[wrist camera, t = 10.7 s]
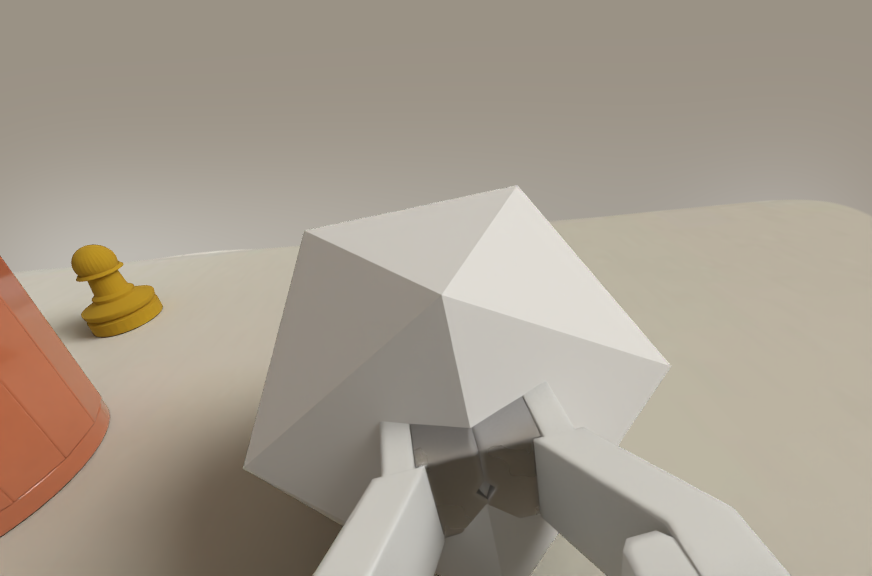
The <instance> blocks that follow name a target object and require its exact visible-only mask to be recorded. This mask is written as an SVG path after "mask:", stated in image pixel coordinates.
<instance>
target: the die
mask: <svg viewBox="0 0 872 576" xmlns="http://www.w3.org/2000/svg"><path fill="white" fill-rule="evenodd" d="M670 368H671V365H670V364H669V363H668V362H667V361H666V359H665V358H664V357H663V356H662V355H661V354H660V352H659V351H658V350H657V349H656V348H655V346H654V345H653V344H652V343H651V342H650V341H649V339H648V338H647V337H646V336H645V335H644V334H643V332H642V331H641V330H640V329H639V328H638V326H637V325H636V324H635V323H634V322H633V321H632V319H631V318H630V317H629V316H628V315H627V314H626V312H625V311H624V310H623V309H622V308H621V307H620V305H619V304H618V303H617V302H616V301H615V299H614V298H613V297H612V296H611V295H610V294H609V292H608V291H607V290H606V289H605V288H604V287H603V285H602V284H601V283H600V282H599V281H598V279H597V278H596V277H595V276H594V275H593V274H592V272H591V271H590V270H589V269H588V268H587V267H586V265H585V264H584V263H583V262H582V261H581V260H580V258H579V257H578V256H577V255H576V254H575V252H574V251H573V250H572V249H571V248H570V247H569V245H568V244H567V243H566V242H565V241H564V240H563V238H562V237H561V236H560V235H559V234H558V232H557V231H556V230H555V229H554V228H553V227H552V225H551V224H550V223H549V222H548V221H547V220H546V218H545V217H544V216H543V215H542V214H541V213H540V211H539V210H538V209H537V208H536V207H535V205H534V204H533V203H532V202H531V201H530V200H529V198H528V197H527V196H526V195H525V194H524V193H523V192H522V190H521V189H520V188H519V187H518V186H517V185H516V186H511V187H507V188H502V189H497V190H493V191H488V192H484V193H479V194H474V195H469V196H464V197H460V198H455V199H450V200H446V201H442V202H436V203H431V204H427V205H422V206H417V207H413V208H408V209H404V210H399V211H394V212H389V213H385V214H380V215H375V216H370V217H366V218H361V219H356V220H352V221H347V222H343V223H337V224H333V225H328V226H323V227H318V228H314V229H309V230H305V231H304V234H303V238H302V242H301V245H300V249H299V253H298V257H297V261H296V265H295V269H294V273H293V276H292V280H291V284H290V288H289V292H288V296H287V300H286V303H285V307H284V311H283V315H282V319H281V323H280V327H279V331H278V334H277V338H276V342H275V346H274V350H273V354H272V358H271V362H270V365H269V369H268V373H267V377H266V381H265V385H264V389H263V392H262V396H261V400H260V404H259V408H258V412H257V416H256V420H255V423H254V427H253V431H252V435H251V439H250V443H249V447H248V451H247V454H246V458H245V462H244V466H243V469H245V470H246V471H248V472H250V473H252V474H253V475H255V476H257V477H259V478H260V479H262V480H264V481H265V482H267V483H269V484H271V485H272V486H274V487H276V488H278V489H279V490H281V491H283V492H285V493H286V494H288V495H290V496H292V497H293V498H295V499H297V500H299V501H300V502H302V503H304V504H305V505H307V506H309V507H311V508H312V509H314V510H316V511H318V512H319V513H321V514H323V515H325V516H326V517H328V518H330V519H332V520H333V521H335V522H337V523H339V524H340V525H342V526H344V524H345V523H346V521H347V519H348V518H349V516H350V515H351V513H352V511H353V510H354V508H355V507H356V505H357V503H358V502H359V500H360V499H361V497H362V495H363V494H364V492H365V490H366V489H367V487H368V486H369V484H370V482H371V481H372V479H374V478H378V477H381V458H380V432H379V423H380V422H395V423H406V424H422V425H437V426H450V427H462V428H471V427H473V426H474V425H476V424H478V423H479V422H481V421H482V420H484V419H485V418H487V417H489V416H490V415H492V414H493V413H495V412H497V411H498V410H500V409H501V408H503V407H505V406H506V405H508V404H510V403H511V402H513V401H515V400H516V399H518V398H520V397H521V396H522V397H523V395H524V394H525V393H527V392H528V391H530V390H532V389H533V388H535V387H536V386H538V385H539V384H541V383H543V382H544V381H546V382H547V383H548V384H549V386H550V388H551V389H552V391H553V393H554V394H555V396H556V398H557V400H558V401H559V403H560V405H561V406H562V408H563V410H564V411H565V413H566V415H567V417H568V418H569V420H570V422H571V423H572V425H573V427H574V428H575V429H577V428H581V427H584V428H586V429H588V430H590V431H592V432H593V433H595V434H597V435H599V436H601V437H603V438H605V439H607V440H608V441H610V442H612V443H614V444H616V445H619V443H620V442H621V440H622V439H623V437H624V436H625V434H626V433H627V431H628V430H629V428H630V427H631V425H632V424H633V422H634V421H635V419H636V418H637V416H638V415H639V413H640V412H641V411H642V409H643V408H644V406H645V405H646V403H647V402H648V400H649V399H650V397H651V396H652V394H653V393H654V391H655V390H656V388H657V387H658V385H659V384H660V382H661V381H662V379H663V378H664V377H665V375H666V374H667V372H668V371H669V369H670ZM410 428H411V426H410ZM489 487H490V484H489V483H487V482H486V481H483V483H482V485H481V486H480V488H479V489H480V491H481V492H482V493H483V494H484V495H485V496H487V494H488V490H489ZM558 533H559V532H558V531H556V530H555V529H554V528H553V527H552V526H551V525H550V524H549V523H548V522H547V521H545V520H544V519H543V518H542V517H541V514H537V515H532V516H528V517H524V518H518V517H516V516H513V515H511V514H509V513H506V512H504V511H502V510H499V509H497V508H495V507H492V506H490V505H487V504H486V505H485V507H484V508H483V509H482V510H481V511H480V512H479V513H478V515H477V516H476V517H475V518H474V519H473V520H472V522H471V523H470V524H469V525H468V526H467V527H466V528H465V530H464V531H463V532H462V533H461V534H457V535H454V536H450V537H447V538H445V544H444V547H443V550H442V553H441V556H440V559H439V562H438V565H437V568H436V571H435V573H436V574H438V575H440V576H530V575H531V573H532V572H533V570H534V569H535V567H536V566H537V564H538V563H539V561H540V560H541V558H542V557H543V555H544V554H545V552H546V551H547V549H548V548H549V546H550V545H551V543H552V542H553V541H554V539H555V538H556V536H557V535H558Z"/></svg>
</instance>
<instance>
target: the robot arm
mask: <svg viewBox="0 0 872 576" xmlns="http://www.w3.org/2000/svg"><path fill="white" fill-rule="evenodd" d="M410 426H411V428H410ZM379 432H380V458H381V477H378V478H374V479H372V481H371V482H370V484H369V486H368V487H367V489H366V490H365V492H364V494H363V495H362V497H361V499H360V500H359V502H358V503H357V505H356V507H355V508H354V510H353V511H352V513H351V515H350V516H349V518H348V519H347V521H346V523H345V524H344V526H343V528H342V529H341V531H340V532H339V534H338V536H337V537H336V539H335V540H334V542H333V544H332V545H331V547H330V548H329V550H328V552H327V553H326V555H325V557H324V558H323V560H322V561H321V563H320V565H319V566H318V568H317V569H316V571H315V573H314V574H313V576H434V574H435V571H436V568H437V565H438V562H439V559H440V556H441V553H442V550H443V547H444V544H445V538H447V537H450V536H454V535H457V534H461V533H462V532H463V531H464V530H465V528H466V527H467V526H468V525H469V524H470V523H471V522H472V520H473V519H474V518H475V517H476V516H477V515H478V513H479V512H480V511H481V510H482V509H483V508H484V507H485V505H486V504H487V505H490V506H492V507H495V508H497V509H499V510H502V511H504V512H506V513H509V514H511V515H513V516H516V517H518V518H524V517H528V516H532V515H537V514H541V517H542V518H543V519H544V520H545V521H547V522H548V523H549V524H550V525H551V526H552V527H553V528H554V529H555V530H556V531H558V532H559V533H560V534H561V535H562V536H563V537H564V538H565V539H566V540H568V541H569V542H570V543H571V544H572V545H573V546H574V547H575V548H576V549H578V550H579V551H580V552H581V553H582V554H583V555H584V556H585V557H586V558H588V559H589V560H590V561H591V562H592V563H593V564H594V565H595V566H596V567H598V568H599V569H600V570H601V571H602V572H603V573H604V574H605V575H606V576H791V575H790V574H789V573H788V572H787V570H786V569H785V568H784V567H783V566H782V564H781V563H780V562H779V561H778V560H777V558H776V557H775V556H774V555H773V554H772V553H771V551H770V550H769V549H768V548H767V547H766V545H765V544H764V543H763V542H762V541H761V539H760V538H759V537H758V536H757V535H756V533H755V532H754V531H753V530H752V529H751V528H750V526H749V525H748V524H747V523H746V522H745V520H744V519H743V518H742V517H741V516H740V514H739V513H738V512H737V511H736V510H735V508H733V507H731V506H729V505H728V504H726V503H724V502H722V501H720V500H718V499H716V498H715V497H713V496H711V495H709V494H707V493H705V492H703V491H702V490H700V489H698V488H696V487H694V486H692V485H690V484H688V483H687V482H685V481H683V480H681V479H679V478H677V477H675V476H674V475H672V474H670V473H668V472H666V471H664V470H662V469H661V468H659V467H657V466H655V465H653V464H651V463H649V462H647V461H646V460H644V459H642V458H640V457H638V456H636V455H634V454H633V453H631V452H629V451H627V450H625V449H623V448H621V447H620V446H618V445H616V444H614V443H612V442H610V441H608V440H607V439H605V438H603V437H601V436H599V435H597V434H595V433H593V432H592V431H590V430H588V429H586V428H584V427H581V428H577V429H575V428H574V427H573V425H572V423H571V422H570V420H569V418H568V417H567V415H566V413H565V411H564V410H563V408H562V406H561V405H560V403H559V401H558V400H557V398H556V396H555V394H554V393H553V391H552V389H551V388H550V386H549V384H548V383H547V382H546V381H544V382H543V383H541V384H539V385H538V386H536V387H535V388H533V389H532V390H530V391H528V392H527V393H525V394H524V395H523V397H522V396H521V397H520V398H518V399H516V400H515V401H513V402H511V403H510V404H508V405H506V406H505V407H503V408H501V409H500V410H498V411H497V412H495V413H493V414H492V415H490V416H489V417H487V418H485V419H484V420H482V421H481V422H479V423H478V424H476V425H474V426H473V427H471V428H462V427H450V426H437V425H422V424H406V423H395V422H380V423H379ZM483 481H486V482H487V483H489V484H490V487H489V490H488V494H487V496H485V495H484V494H483V493H482V492H481V491H480V489H479V488H480V486H481V485H482V483H483Z"/></svg>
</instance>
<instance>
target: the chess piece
mask: <svg viewBox="0 0 872 576" xmlns="http://www.w3.org/2000/svg"><path fill="white" fill-rule="evenodd" d="M71 264H72V268H73V270H74V272H75V273H76V274H77V275H78V276H77V279H76V281H79V282H82V281H88V283H89V285H90V287H91V290H92V292H93V294H94V297H93V298H92V302H93V303H92V304H91V305H89V306H88V307H87V308H86V309H85V310H84V311H83V312H82V314H81V317H82V318H83V319H84V320H85V321H87V325H88V326H89V328H90V329H91V331H92V332H93V334H94V335H95V336H97V337H109V336H114V335H118V334H121V333H124V332H127V331H130V330H132V329H134V328H137V327H139V326H141V325H143V324H145V323H146V322H148V321H150V320H151V319H153V318H154V317H155V316H156V315H158V314H159V313H160V312H161V310H162V308H163V306H162V304H161V302H160V300H159V298H158V297H157V295H156V294H155V292H154V288H153V287H152V286H148V285H142V286H134V285H133V284H132V283H127V282H126V280H125V279H124V278H123V276H122V275H121V274H120V272H119V271H118V269H119V268H121V267H122V266H123V263H122V262H119V261H118V260H117V257H116V255H115V254H114V253H113V252H112V251H111V250H109V249H108V248H106V247H104V246H101V245H87V246H84V247H82V248H80V249H78V250H77V251H76V252H75V253H74V255H73V257H72V261H71Z"/></svg>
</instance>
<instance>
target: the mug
mask: <svg viewBox="0 0 872 576" xmlns="http://www.w3.org/2000/svg"><path fill="white" fill-rule="evenodd" d="M109 420H110V414H109V409H108V407H107V406H106V404H105V403H104V401H103V400H102V398H101V396H100V394H99V393H98V391H97V390H96V389H95V387H94V386H93V384H92V383H91V382H90V380H89V379H88V377H87V376H86V375H85V373H84V372H83V371H82V369H81V368H80V366H79V365H78V364H77V362H76V361H75V359H74V358H73V357H72V355H71V354H70V352H69V351H68V350H67V348H66V347H65V345H64V344H63V343H62V341H61V340H60V338H59V337H58V336H57V334H56V333H55V331H54V330H53V329H52V327H51V326H50V324H49V323H48V322H47V320H46V319H45V317H44V316H43V315H42V313H41V312H40V311H39V309H38V308H37V306H36V305H35V304H34V302H33V301H32V299H31V298H30V297H29V295H28V294H27V292H26V291H25V290H24V288H23V287H22V285H21V284H20V283H19V281H18V280H17V278H16V277H15V276H14V274H13V273H12V271H11V270H10V269H9V267H8V266H7V264H6V263H5V262H4V260H3V259H2V257H1V256H0V537H1V536H2V535H4V534H5V533H7V532H8V531H9V530H11V529H12V528H14V527H15V526H17V525H18V524H19V523H21V522H22V521H23V520H25V519H26V518H27V517H28V516H30V515H31V514H32V513H34V512H35V511H36V510H38V509H39V508H40V507H41V506H42V505H44V504H45V503H46V502H47V501H48V500H49V499H51V498H52V497H53V496H54V495H55V494H56V493H57V492H58V491H60V490H61V489H62V488H63V487H64V486H65V485H66V484H67V483H68V482H69V481H70V480H71V479H72V478H73V477H74V476H75V475H76V474H77V473H78V472H79V471H80V470H81V468H82V467H83V466H84V465H85V464H86V463H87V461H88V460H89V459H90V458H91V456H92V455H93V454H94V452H95V451H96V449H97V448H98V446H99V445H100V443H101V442H102V440H103V438H104V436H105V434H106V432H107V429H108V426H109Z"/></svg>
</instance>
